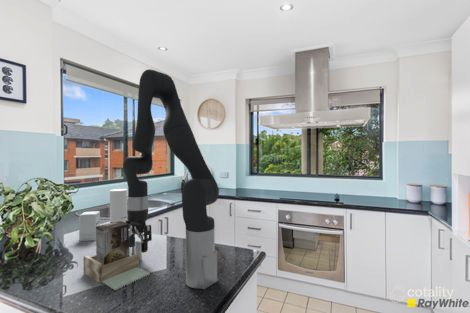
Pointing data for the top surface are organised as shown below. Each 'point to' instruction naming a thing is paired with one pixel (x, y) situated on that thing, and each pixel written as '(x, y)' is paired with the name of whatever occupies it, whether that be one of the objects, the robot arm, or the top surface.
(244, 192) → the top surface
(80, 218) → the supplement box
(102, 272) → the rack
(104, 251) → the coffee box
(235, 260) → the top surface
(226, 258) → the top surface
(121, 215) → the cylindrical container
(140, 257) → the white frame with handle
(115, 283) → the mat
